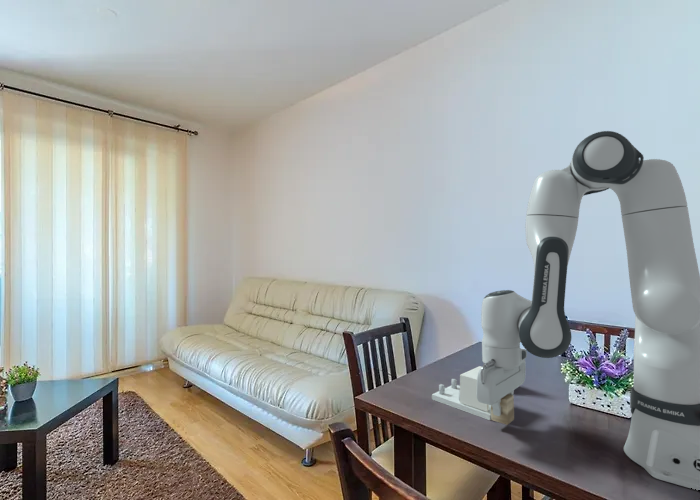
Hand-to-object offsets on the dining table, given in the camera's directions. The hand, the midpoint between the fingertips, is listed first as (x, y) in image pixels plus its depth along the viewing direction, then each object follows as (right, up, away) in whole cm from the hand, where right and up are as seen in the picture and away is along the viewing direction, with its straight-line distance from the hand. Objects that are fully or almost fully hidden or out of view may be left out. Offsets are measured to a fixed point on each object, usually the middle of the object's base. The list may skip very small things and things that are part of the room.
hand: (502, 411), depth 94 cm
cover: (-1, -2, +12) cm, 12 cm away
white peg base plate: (-3, -4, +15) cm, 16 cm away
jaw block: (0, -2, 0) cm, 2 cm away
